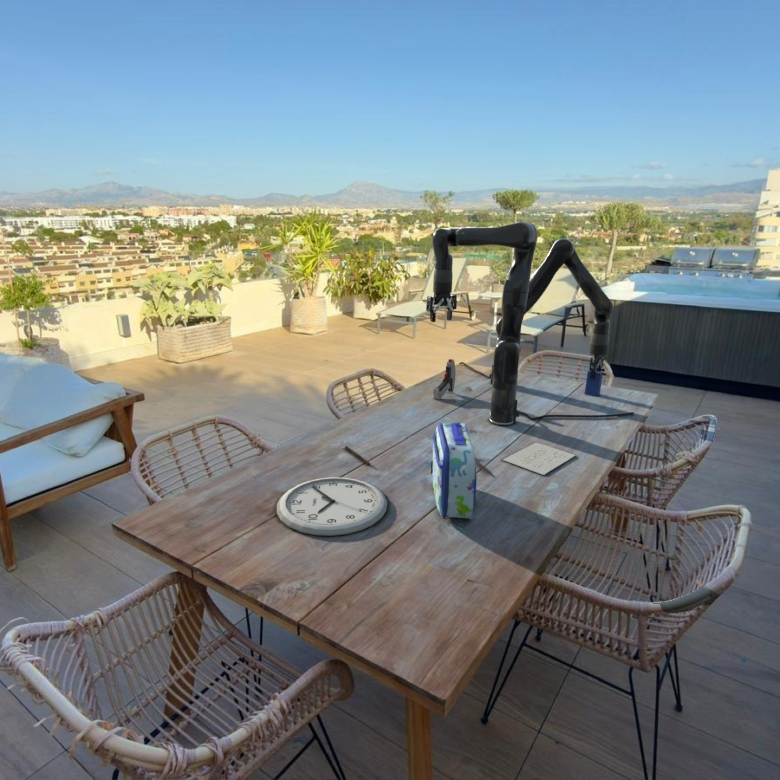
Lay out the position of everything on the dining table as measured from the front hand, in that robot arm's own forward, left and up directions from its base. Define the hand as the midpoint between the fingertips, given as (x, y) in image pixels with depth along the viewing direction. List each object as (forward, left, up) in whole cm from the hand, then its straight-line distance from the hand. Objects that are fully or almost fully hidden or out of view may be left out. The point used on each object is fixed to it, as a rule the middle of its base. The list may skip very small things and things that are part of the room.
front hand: (441, 321), depth 213 cm
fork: (+7, +58, -37) cm, 69 cm away
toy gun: (-8, -12, -37) cm, 39 cm away
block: (-77, -1, -37) cm, 85 cm away
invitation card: (-16, +58, -37) cm, 71 cm away
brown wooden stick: (+44, +44, -37) cm, 72 cm away
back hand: (-77, -1, -28) cm, 82 cm away
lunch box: (+23, +79, -37) cm, 90 cm away
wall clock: (+56, +74, -37) cm, 99 cm away
